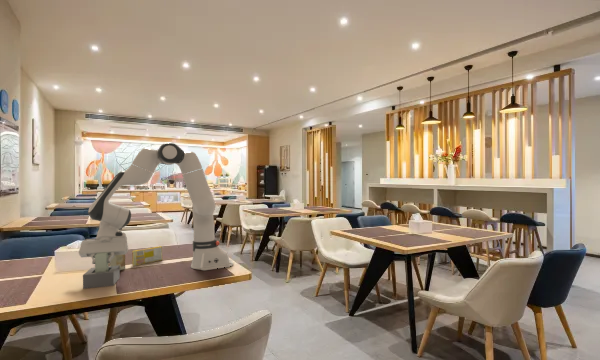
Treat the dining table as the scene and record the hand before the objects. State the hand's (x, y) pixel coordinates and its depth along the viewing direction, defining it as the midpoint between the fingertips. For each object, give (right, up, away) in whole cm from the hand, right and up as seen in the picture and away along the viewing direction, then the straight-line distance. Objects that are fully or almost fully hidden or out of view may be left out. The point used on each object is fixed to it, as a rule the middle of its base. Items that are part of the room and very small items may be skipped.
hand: (101, 262), depth 150 cm
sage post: (0, -6, +1) cm, 6 cm away
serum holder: (0, -10, +1) cm, 10 cm away
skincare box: (-5, -10, +22) cm, 25 cm away
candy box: (+4, -10, +37) cm, 38 cm away
